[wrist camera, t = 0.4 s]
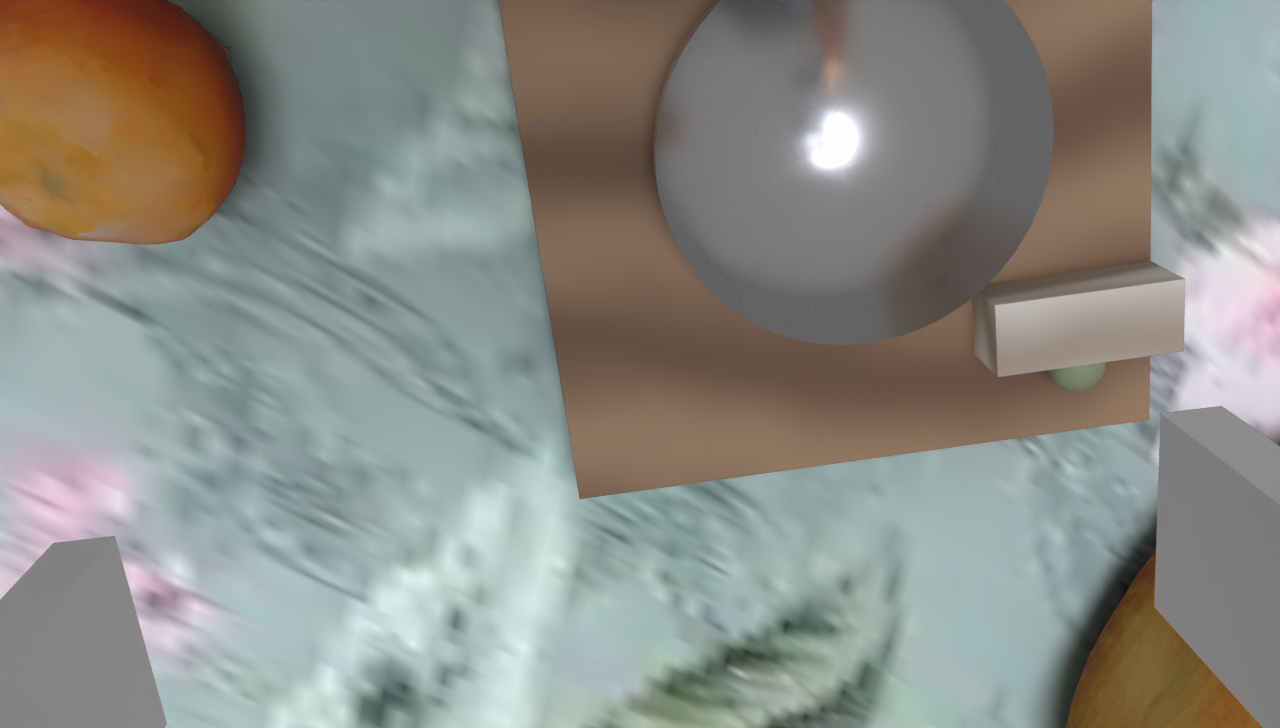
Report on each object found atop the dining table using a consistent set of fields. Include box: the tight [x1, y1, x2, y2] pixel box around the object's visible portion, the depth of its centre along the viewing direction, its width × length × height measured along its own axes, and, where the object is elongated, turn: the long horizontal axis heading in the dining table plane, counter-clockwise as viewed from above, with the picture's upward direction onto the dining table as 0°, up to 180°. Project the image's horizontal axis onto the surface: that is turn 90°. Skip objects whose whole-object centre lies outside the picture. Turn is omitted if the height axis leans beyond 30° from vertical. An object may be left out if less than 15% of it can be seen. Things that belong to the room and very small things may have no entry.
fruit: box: [0, 0, 245, 244], centre depth 35 cm, size 8×8×8 cm
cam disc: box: [652, 0, 1054, 345], centre depth 31 cm, size 16×12×11 cm
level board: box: [498, 0, 1185, 499], centre depth 37 cm, size 22×20×4 cm
